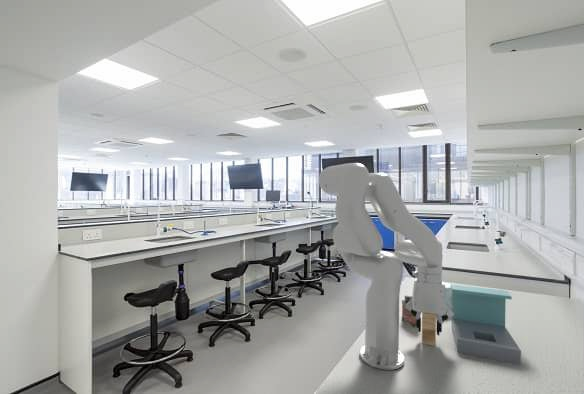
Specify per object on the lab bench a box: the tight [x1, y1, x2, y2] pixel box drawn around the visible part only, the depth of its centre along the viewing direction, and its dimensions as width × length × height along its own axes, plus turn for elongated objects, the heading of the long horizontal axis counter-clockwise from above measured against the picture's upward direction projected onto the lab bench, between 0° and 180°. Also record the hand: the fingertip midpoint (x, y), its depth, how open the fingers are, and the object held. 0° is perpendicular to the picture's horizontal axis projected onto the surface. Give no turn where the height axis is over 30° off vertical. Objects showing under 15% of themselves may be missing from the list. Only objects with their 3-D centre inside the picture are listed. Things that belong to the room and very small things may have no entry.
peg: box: [421, 312, 437, 347], centre depth 96 cm, size 4×4×10 cm
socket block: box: [451, 284, 522, 365], centre depth 95 cm, size 18×17×16 cm
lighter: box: [401, 294, 417, 328], centre depth 110 cm, size 8×3×10 cm, turn 21°
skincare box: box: [444, 282, 452, 313], centre depth 124 cm, size 10×6×10 cm, turn 107°
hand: (428, 331), depth 96 cm, fingers open, 4 cm apart
